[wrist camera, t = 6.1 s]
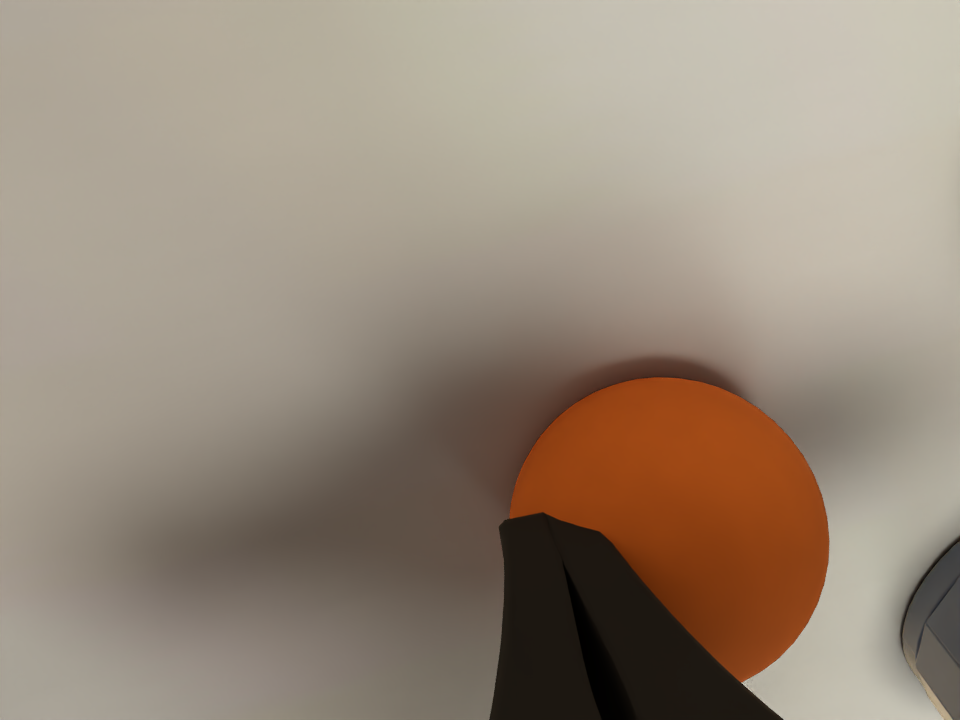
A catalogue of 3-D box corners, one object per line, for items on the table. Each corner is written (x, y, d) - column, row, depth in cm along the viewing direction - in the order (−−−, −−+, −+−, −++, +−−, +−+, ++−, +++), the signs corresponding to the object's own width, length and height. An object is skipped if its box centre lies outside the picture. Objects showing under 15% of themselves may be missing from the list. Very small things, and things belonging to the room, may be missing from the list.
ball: (577, 523, 18) (823, 606, 15) (453, 685, 14) (758, 829, 12) (590, 306, 15) (881, 368, 13) (447, 428, 12) (825, 544, 9)
